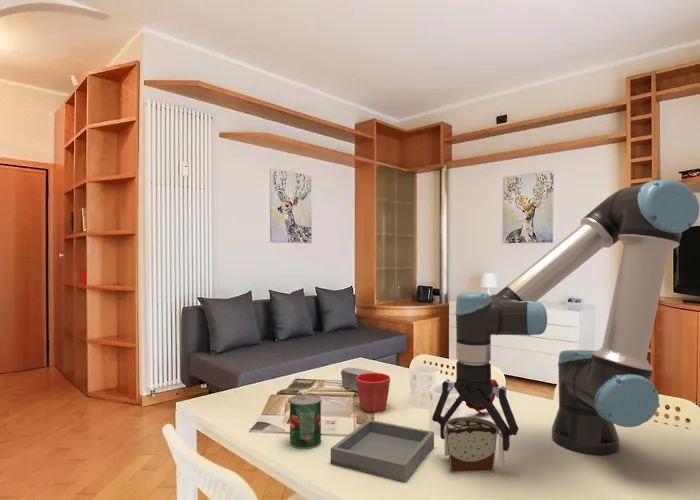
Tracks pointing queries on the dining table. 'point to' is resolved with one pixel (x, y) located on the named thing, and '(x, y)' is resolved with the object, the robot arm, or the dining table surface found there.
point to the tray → (383, 449)
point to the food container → (471, 444)
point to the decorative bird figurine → (481, 407)
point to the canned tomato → (305, 421)
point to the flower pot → (373, 391)
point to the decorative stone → (352, 377)
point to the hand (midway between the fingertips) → (474, 458)
